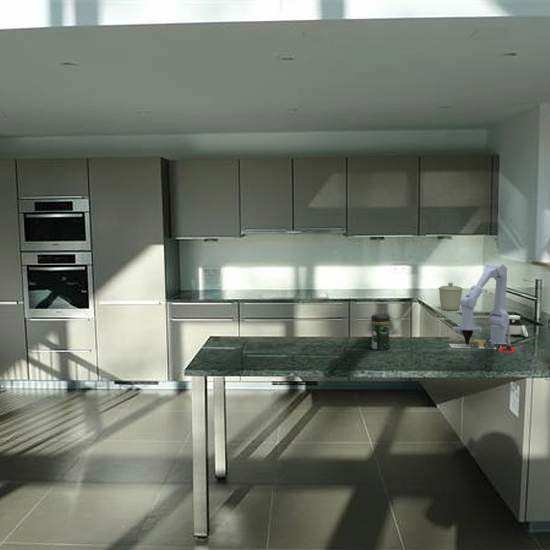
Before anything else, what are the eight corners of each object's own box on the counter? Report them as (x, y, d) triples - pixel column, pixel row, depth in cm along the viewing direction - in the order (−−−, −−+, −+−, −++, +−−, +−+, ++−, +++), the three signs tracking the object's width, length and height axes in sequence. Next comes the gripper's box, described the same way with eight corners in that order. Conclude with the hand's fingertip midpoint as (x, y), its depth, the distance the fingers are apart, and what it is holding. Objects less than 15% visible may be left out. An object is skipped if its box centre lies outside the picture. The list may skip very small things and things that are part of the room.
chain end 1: (468, 344, 305) (468, 340, 304) (476, 344, 304) (476, 340, 304) (471, 348, 296) (471, 343, 296) (479, 348, 296) (479, 343, 296)
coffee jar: (383, 346, 304) (383, 312, 302) (392, 349, 297) (392, 314, 295) (368, 348, 300) (368, 313, 298) (376, 351, 293) (377, 315, 291)
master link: (469, 345, 302) (469, 338, 302) (484, 346, 301) (485, 338, 300) (470, 346, 299) (470, 339, 299) (486, 347, 298) (486, 340, 297)
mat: (449, 344, 307) (449, 343, 307) (493, 345, 303) (493, 345, 303) (451, 348, 298) (451, 347, 298) (497, 349, 294) (497, 348, 294)
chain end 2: (482, 345, 304) (482, 340, 303) (493, 345, 302) (493, 340, 302) (485, 348, 295) (485, 343, 295) (496, 348, 294) (496, 344, 294)
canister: (437, 311, 426) (437, 283, 424) (438, 307, 443) (438, 280, 441) (462, 311, 420) (463, 283, 419) (462, 308, 438) (463, 281, 436)
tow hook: (513, 355, 284) (517, 350, 291) (513, 330, 282) (518, 326, 289) (495, 353, 289) (500, 349, 296) (496, 328, 287) (501, 324, 294)
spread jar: (503, 334, 335) (504, 314, 334) (522, 334, 335) (523, 314, 334) (511, 338, 323) (511, 318, 322) (531, 338, 323) (531, 318, 322)
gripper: (454, 320, 297) (454, 345, 298) (483, 320, 294) (482, 346, 296) (452, 318, 304) (452, 342, 305) (480, 318, 301) (480, 343, 302)
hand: (467, 344), depth 301 cm, fingers closed
